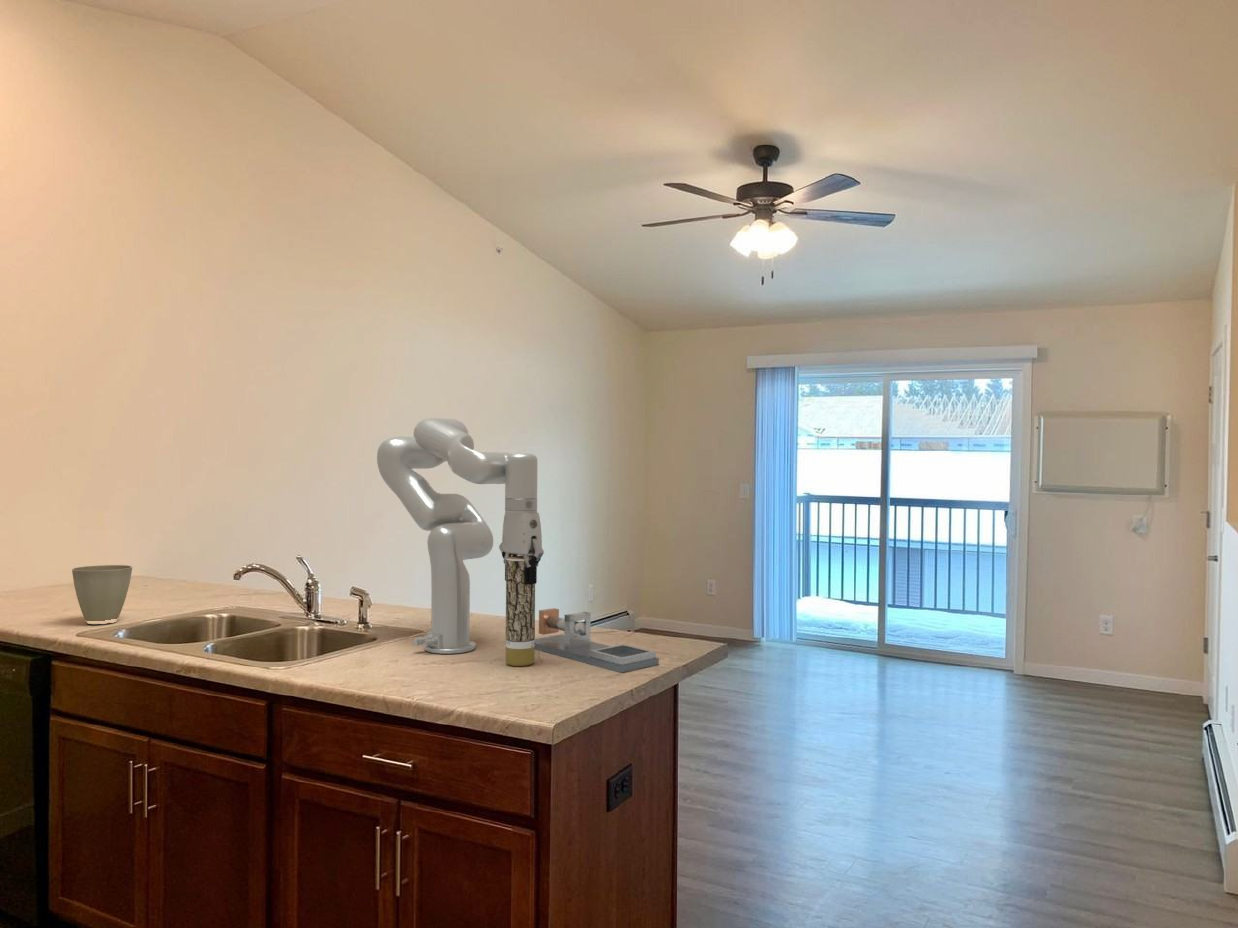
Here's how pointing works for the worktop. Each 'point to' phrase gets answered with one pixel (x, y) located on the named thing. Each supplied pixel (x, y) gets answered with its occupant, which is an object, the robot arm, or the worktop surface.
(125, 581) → the plant pot
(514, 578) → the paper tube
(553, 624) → the shaft
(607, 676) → the worktop surface
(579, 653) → the shaft frame
